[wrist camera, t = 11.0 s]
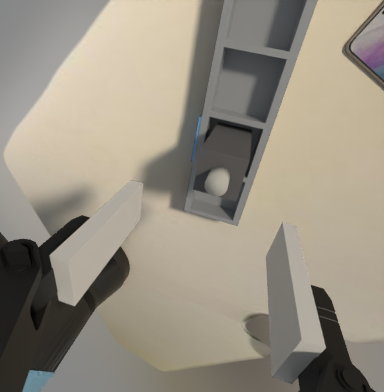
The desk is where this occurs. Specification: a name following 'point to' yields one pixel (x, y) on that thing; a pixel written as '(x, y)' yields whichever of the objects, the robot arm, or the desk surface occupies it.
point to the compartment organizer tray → (248, 85)
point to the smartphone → (370, 45)
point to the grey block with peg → (223, 161)
